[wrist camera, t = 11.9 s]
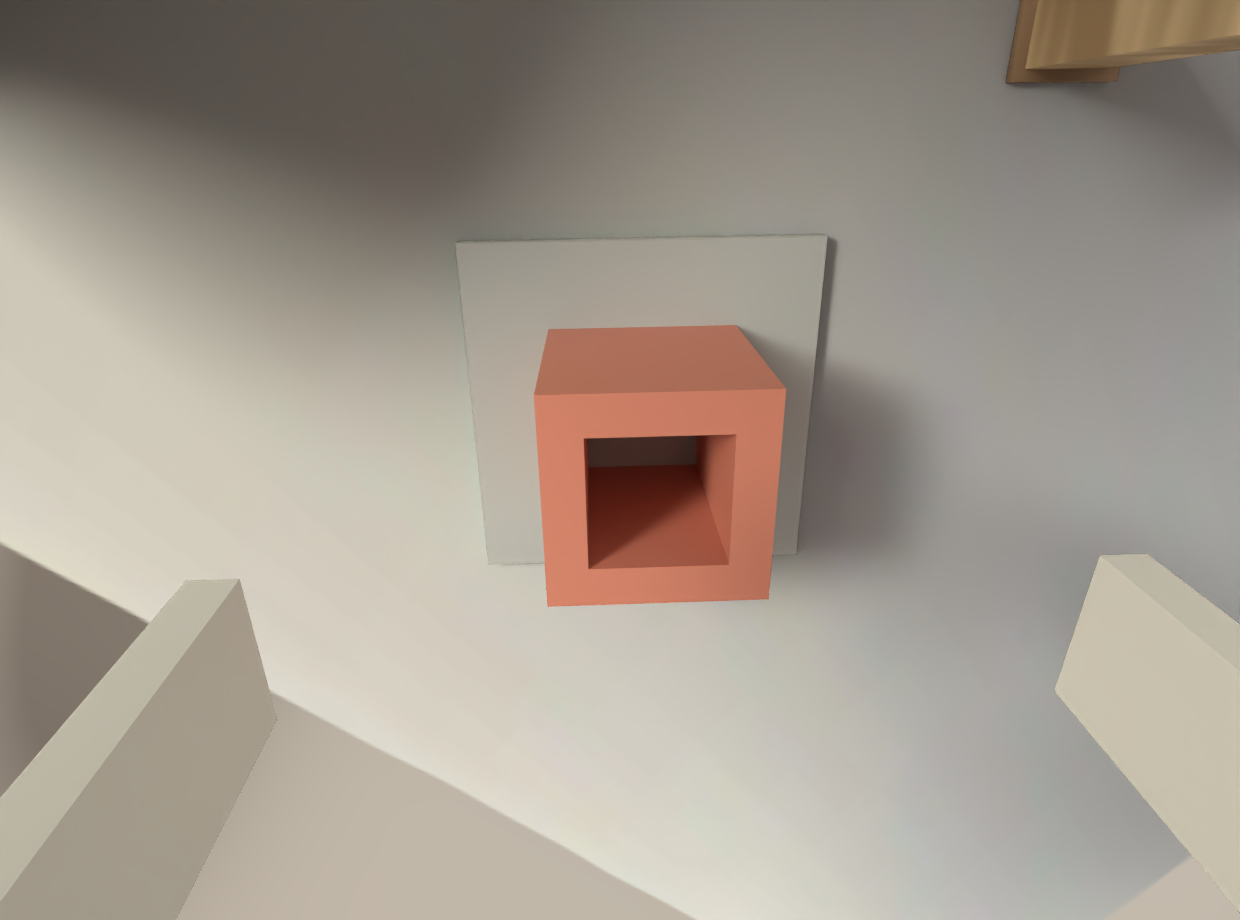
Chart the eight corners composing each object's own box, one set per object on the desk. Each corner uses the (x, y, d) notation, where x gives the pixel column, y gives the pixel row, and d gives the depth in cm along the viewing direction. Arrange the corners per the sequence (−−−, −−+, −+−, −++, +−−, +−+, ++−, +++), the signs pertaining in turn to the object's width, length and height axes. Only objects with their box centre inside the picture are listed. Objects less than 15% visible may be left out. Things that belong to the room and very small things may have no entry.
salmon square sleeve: (557, 497, 31) (547, 606, 24) (548, 329, 28) (533, 395, 21) (727, 492, 31) (768, 599, 24) (735, 325, 28) (786, 388, 21)
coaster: (489, 557, 33) (488, 564, 32) (457, 241, 27) (455, 243, 27) (792, 547, 33) (796, 554, 33) (822, 234, 28) (827, 236, 27)
